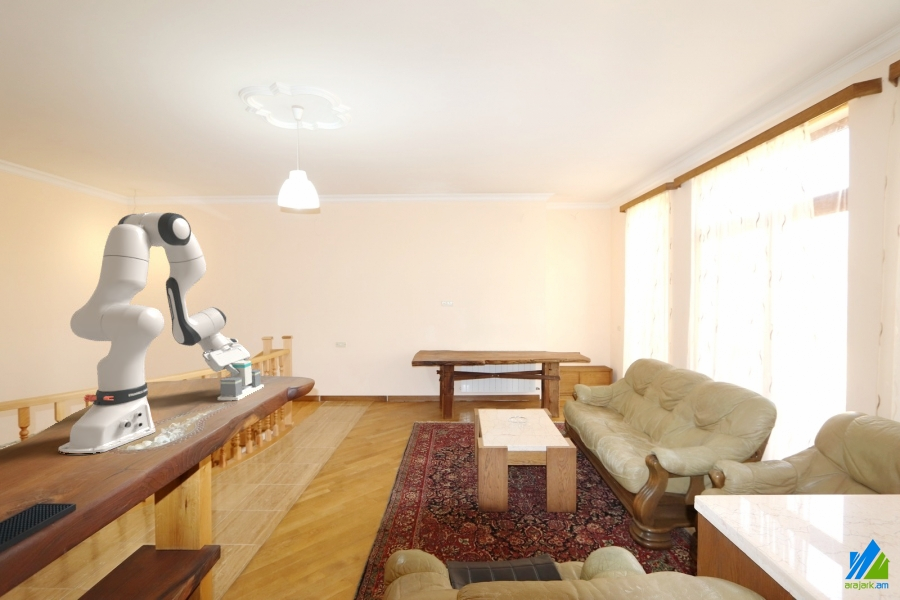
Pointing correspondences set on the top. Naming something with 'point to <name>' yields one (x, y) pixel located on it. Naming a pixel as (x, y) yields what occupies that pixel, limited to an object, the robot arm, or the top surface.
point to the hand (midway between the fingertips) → (242, 372)
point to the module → (243, 371)
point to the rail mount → (239, 386)
